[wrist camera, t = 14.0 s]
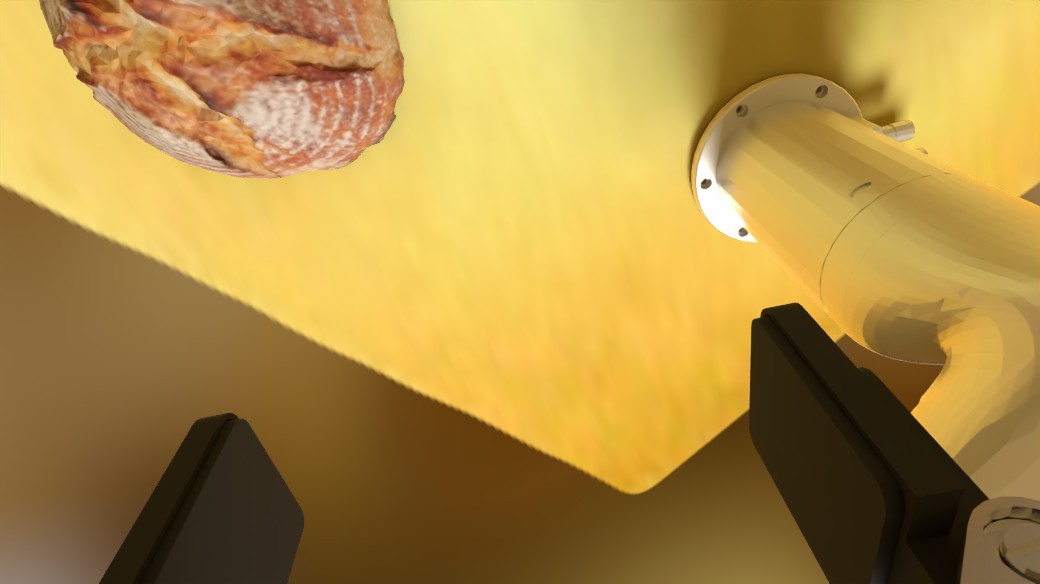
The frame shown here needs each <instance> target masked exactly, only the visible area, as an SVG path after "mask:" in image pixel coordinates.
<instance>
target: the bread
mask: <svg viewBox="0 0 1040 584" xmlns="http://www.w3.org/2000/svg"><path fill="white" fill-rule="evenodd" d="M39 1H40V6H41V10H42V12H43V14H44V17H45V19H46V22H47V24H48V27H49V29H50V32H51V34H52V38H53V44H54V47H56V48H59V49H63V53H64V55H65V56H66V58H67V59H68V62H69V63H70V65H71V66H72V68H73V69H74V70H75V71H76V72H77V73H78V74H77V76H76V77H77V79H78V80H80V81H81V82H83V83H85V84H86V85H87V86H88V87H90V88H91V89H92V90H93V94H94V96H93V97H94V99H95V100H96V101H98V102H99V103H100V104H102V105H103V106H104V107H105V108H107V109H108V110H109V111H110V112H111V113H112V114H113V115H114V116H115V117H116V118H117V119H118V120H119V121H121V122H122V123H123V124H124V125H125V126H126V127H127V128H128V129H129V130H130V131H131V132H132V133H133V134H135V135H137V136H139V137H140V138H141V139H142V140H144V141H145V142H146V143H148V144H150V145H152V146H154V147H155V148H157V149H158V150H160V151H162V152H164V153H165V154H167V155H169V156H172V157H174V158H176V159H178V160H181V161H183V162H185V163H187V164H190V165H194V166H197V167H201V168H203V169H206V170H210V171H214V172H217V173H220V174H225V175H231V176H236V177H244V178H268V179H272V178H278V177H280V178H281V177H285V176H289V175H293V174H297V173H301V172H306V171H312V170H328V169H339V168H341V167H344V166H347V165H349V164H350V163H351V162H353V161H354V160H356V159H357V157H358V156H359V155H360V154H361V153H362V152H363V151H364V150H365V148H367V147H369V146H371V145H374V144H377V143H379V142H380V141H381V140H382V139H383V138H384V135H385V133H386V132H387V131H388V129H389V128H390V126H391V124H392V123H393V121H394V120H395V118H396V115H394V108H395V103H396V100H397V99H398V97H399V96H400V94H401V92H402V90H403V86H404V76H403V63H404V57H403V55H402V53H401V51H400V47H399V43H398V40H397V36H396V29H395V26H394V23H393V20H392V18H391V16H390V13H389V6H388V2H387V0H39Z"/></svg>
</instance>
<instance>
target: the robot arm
mask: <svg viewBox="0 0 1040 584" xmlns="http://www.w3.org/2000/svg"><path fill="white" fill-rule="evenodd" d="M817 88H818V89H817ZM816 89H817V91H816ZM739 106H740V109H739V110H738V111H736V110H737V108H738V107H739ZM914 133H915V127H914V125H913V123H912V122H911V121H910V120H905V121H900V122H896V123H892V124H888V125H887V126H884V127H881V126H878V125H876V124H874V123H872V122H870V121H867V120H865V119H863V117H862V113H861V111H860V109H859V107H858V105H857V103H856V102H855V100H854V99H853V98H852V97H851V95H850V94H849V93H848V92H847V91H846V90H845V89H844V88H842V87H840V86H838V85H837V84H835V83H833V82H832V81H829V80H827V79H824V78H821V77H819V76H814V75H808V74H802V73H800V74H784V75H780V76H776V77H772V78H768V79H765V80H763V81H761V82H759V83H756V84H754V85H752V86H750V87H748V88H747V89H745V90H744V91H742V92H741V93H739V94H738V95H736V96H735V97H734V98H732V99H731V100H730V101H729V102H728V103H727V104H726V105H725V106H724V107H723V108H721V109H720V111H719V112H718V113H717V114H716V116H715V117H714V118H713V119H712V121H711V122H710V123H709V125H708V126H707V128H706V130H705V132H704V133H703V135H702V137H701V138H700V141H699V143H698V146H697V149H696V151H695V154H694V159H693V164H692V170H691V186H692V190H693V195H694V199H695V201H696V203H697V206H698V208H699V210H700V212H701V213H702V214H703V215H704V217H705V218H706V219H707V221H708V222H709V223H710V224H711V225H712V226H713V227H715V228H716V229H717V230H718V231H720V232H721V233H723V234H725V235H726V236H728V237H730V238H733V239H736V240H739V241H745V242H754V243H759V244H760V245H761V246H762V247H763V248H764V249H765V250H766V251H767V252H768V253H769V254H770V255H771V256H772V257H773V258H774V259H775V261H776V262H777V263H778V264H779V265H780V266H781V267H782V268H783V269H784V270H785V271H786V272H787V273H788V274H789V275H790V276H791V277H792V278H793V279H794V280H795V281H796V282H797V283H798V284H799V285H800V286H801V288H802V289H803V290H804V291H805V292H806V293H807V294H808V295H809V296H810V297H811V298H812V299H813V300H814V301H815V302H816V303H817V304H818V305H819V306H820V307H821V308H822V309H823V310H824V311H825V312H826V313H827V315H828V316H829V317H830V318H831V319H832V320H833V321H834V322H835V323H836V324H837V325H838V326H839V327H840V328H841V329H842V330H843V331H844V332H845V333H846V334H847V335H849V336H850V337H851V338H852V339H853V340H855V341H856V342H858V343H859V344H860V345H862V346H864V347H865V348H867V349H869V350H871V351H874V352H876V353H878V354H881V355H883V356H886V357H889V358H893V359H897V360H902V361H907V362H914V363H923V364H937V365H944V367H943V369H942V371H941V373H940V374H939V376H938V377H937V378H936V380H935V381H934V382H933V384H932V385H931V386H930V388H929V389H928V390H927V391H926V393H925V394H924V395H923V396H922V397H921V399H920V403H919V404H918V405H917V406H916V407H915V408H914V410H913V411H912V412H911V413H910V412H909V411H908V410H907V409H906V407H905V406H904V405H903V404H902V403H901V402H900V401H899V400H898V399H897V398H896V397H895V396H894V394H893V393H892V392H891V391H890V390H889V389H888V388H887V387H886V386H885V385H884V383H883V382H882V381H881V380H880V379H879V378H878V377H877V376H876V375H875V374H874V373H872V372H871V371H870V370H868V369H866V368H863V367H862V368H857V367H856V366H855V365H854V364H853V363H852V362H851V361H850V360H849V358H848V357H847V356H846V355H845V354H844V353H843V352H842V351H841V350H840V348H839V347H838V346H837V345H836V344H835V343H834V342H833V340H832V339H831V338H830V337H829V336H828V335H827V334H826V333H825V331H824V330H823V329H822V328H821V327H820V326H819V325H818V324H817V322H816V321H815V320H814V319H813V318H812V317H811V316H810V315H809V313H808V312H807V311H806V310H805V309H804V308H803V307H802V306H801V305H800V304H799V303H791V304H786V305H781V306H775V307H770V308H765V309H763V310H762V312H761V317H760V318H757V319H754V320H753V321H752V326H751V369H750V413H749V429H750V434H751V438H752V441H753V443H754V446H755V448H756V450H757V451H758V453H759V455H760V457H761V459H762V461H763V462H764V464H765V466H766V468H767V470H768V472H769V474H770V475H771V477H772V479H773V481H774V483H775V484H776V486H777V488H778V490H779V492H780V494H781V495H782V497H783V499H784V501H785V502H786V505H787V506H788V508H789V510H790V512H791V514H792V515H793V517H794V519H795V521H796V522H797V525H798V526H799V528H800V530H801V532H802V534H803V535H804V537H805V539H806V541H807V543H808V545H809V547H810V548H811V550H812V552H813V554H814V556H815V557H816V559H817V561H818V563H819V565H820V567H821V568H822V570H823V572H824V574H825V576H826V578H827V579H828V581H829V583H830V584H1040V206H1038V205H1036V204H1033V203H1031V202H1029V201H1026V200H1024V199H1022V198H1019V197H1017V196H1015V195H1013V194H1010V193H1008V192H1006V191H1004V190H1002V189H1000V188H998V187H995V186H993V185H991V184H989V183H987V182H985V181H983V180H980V179H978V178H975V177H973V176H971V175H969V174H967V173H965V172H963V171H961V170H958V169H956V168H954V167H952V166H950V165H948V164H946V163H944V162H941V161H939V160H937V159H935V158H933V157H931V156H929V155H928V154H927V152H926V150H925V149H924V148H922V147H914V148H912V147H910V146H907V145H905V144H903V143H901V142H903V141H907V140H910V139H912V138H913V136H914ZM703 179H705V180H704V181H703V182H701V181H702V180H703ZM303 528H304V515H303V511H302V509H301V507H300V506H299V504H298V503H297V501H296V499H295V498H294V496H293V494H292V493H291V491H290V490H289V488H288V486H287V485H286V483H285V481H284V480H283V478H282V477H281V475H280V473H279V472H278V470H277V469H276V467H275V465H274V464H273V462H272V461H271V459H270V457H269V456H268V454H267V452H266V451H265V449H264V447H263V446H262V444H261V443H260V441H259V439H258V438H257V436H256V435H255V433H254V431H253V430H252V428H251V426H250V425H249V423H248V422H247V421H246V420H244V419H239V418H238V417H237V416H236V415H235V414H233V413H226V414H221V415H216V416H211V417H206V418H201V419H199V420H197V421H196V422H195V423H194V424H193V426H192V427H191V429H190V430H189V432H188V434H187V436H186V437H185V439H184V441H183V442H182V444H181V446H180V447H179V449H178V451H177V453H176V454H175V456H174V458H173V459H172V461H171V463H170V464H169V466H168V468H167V469H166V471H165V473H164V474H163V476H162V478H161V480H160V481H159V483H158V485H157V486H156V488H155V490H154V491H153V493H152V495H151V496H150V498H149V500H148V502H147V503H146V505H145V507H144V508H143V510H142V512H141V513H140V515H139V517H138V518H137V520H136V522H135V524H134V525H133V527H132V529H131V530H130V532H129V534H128V535H127V537H126V539H125V541H124V542H123V544H122V546H121V548H120V549H119V551H118V552H117V554H116V556H115V557H114V559H113V561H112V563H111V564H110V566H109V568H108V569H107V571H106V573H105V574H104V576H103V578H102V579H101V581H100V583H99V584H287V582H288V579H289V575H290V572H291V569H292V565H293V562H294V559H295V555H296V552H297V549H298V545H299V542H300V538H301V535H302V532H303Z"/></svg>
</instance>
